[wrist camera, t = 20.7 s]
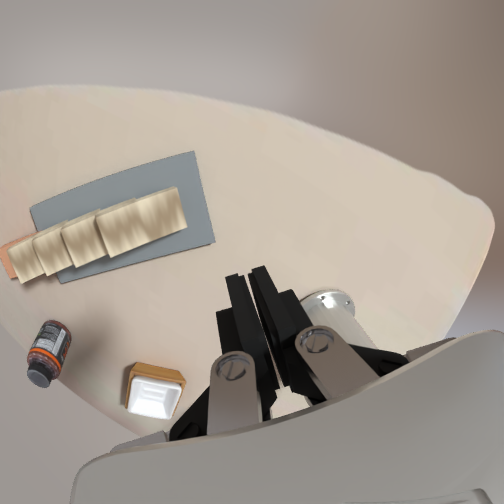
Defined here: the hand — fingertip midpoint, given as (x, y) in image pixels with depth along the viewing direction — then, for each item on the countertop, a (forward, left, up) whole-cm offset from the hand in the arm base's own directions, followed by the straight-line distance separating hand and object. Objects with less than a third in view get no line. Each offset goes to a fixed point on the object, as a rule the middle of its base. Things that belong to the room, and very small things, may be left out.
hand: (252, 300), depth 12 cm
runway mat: (-2, +13, -25) cm, 29 cm away
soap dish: (-33, +20, -26) cm, 46 cm away
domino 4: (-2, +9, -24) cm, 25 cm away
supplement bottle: (-17, +32, -26) cm, 44 cm away
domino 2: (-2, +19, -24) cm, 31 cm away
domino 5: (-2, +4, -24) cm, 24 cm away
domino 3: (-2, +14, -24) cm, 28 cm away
